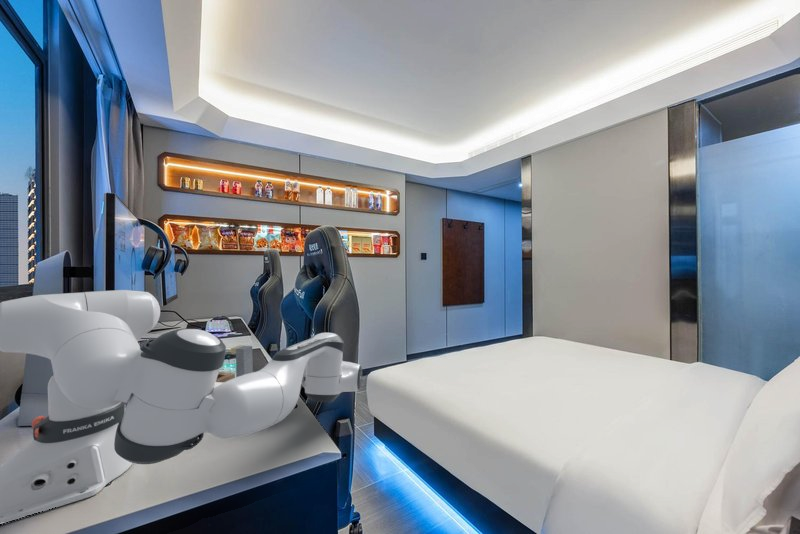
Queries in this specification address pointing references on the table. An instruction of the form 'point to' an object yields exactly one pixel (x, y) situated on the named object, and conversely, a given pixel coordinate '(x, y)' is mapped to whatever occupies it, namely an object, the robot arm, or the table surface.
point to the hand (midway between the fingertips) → (274, 370)
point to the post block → (224, 376)
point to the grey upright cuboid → (243, 359)
